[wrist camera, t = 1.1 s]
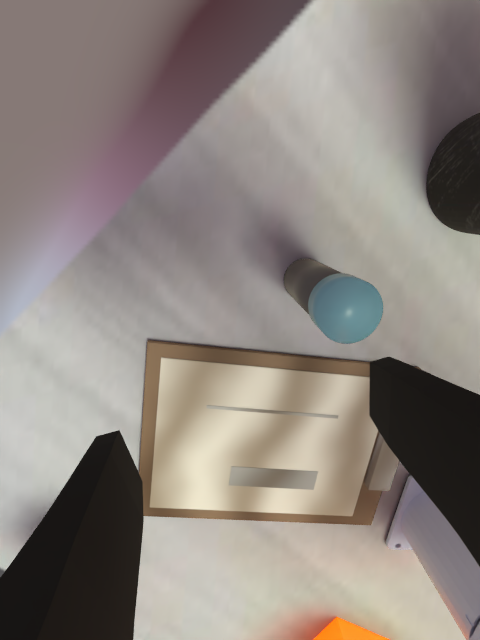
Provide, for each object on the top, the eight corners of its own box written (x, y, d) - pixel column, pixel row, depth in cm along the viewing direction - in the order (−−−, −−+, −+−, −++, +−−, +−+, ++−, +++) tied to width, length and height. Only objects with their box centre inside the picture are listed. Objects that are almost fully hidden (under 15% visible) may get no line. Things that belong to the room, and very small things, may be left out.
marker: (330, 259, 23) (390, 283, 15) (321, 303, 23) (373, 346, 16) (286, 254, 22) (325, 275, 15) (278, 298, 23) (311, 340, 15)
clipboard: (418, 367, 26) (427, 374, 24) (369, 521, 30) (375, 533, 29) (148, 340, 23) (145, 346, 22) (137, 511, 28) (134, 524, 26)
